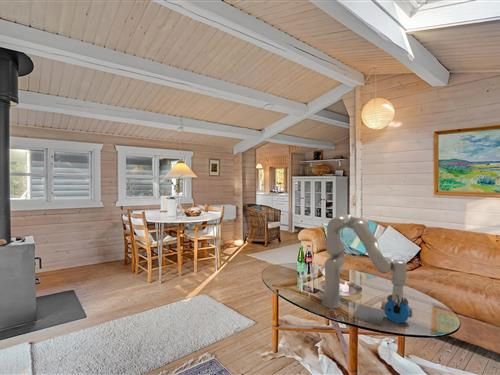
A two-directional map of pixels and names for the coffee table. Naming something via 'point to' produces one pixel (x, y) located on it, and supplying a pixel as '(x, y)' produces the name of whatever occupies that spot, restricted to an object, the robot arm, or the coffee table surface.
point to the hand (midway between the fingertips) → (397, 309)
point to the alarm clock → (395, 316)
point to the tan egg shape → (384, 303)
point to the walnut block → (410, 312)
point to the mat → (369, 314)
